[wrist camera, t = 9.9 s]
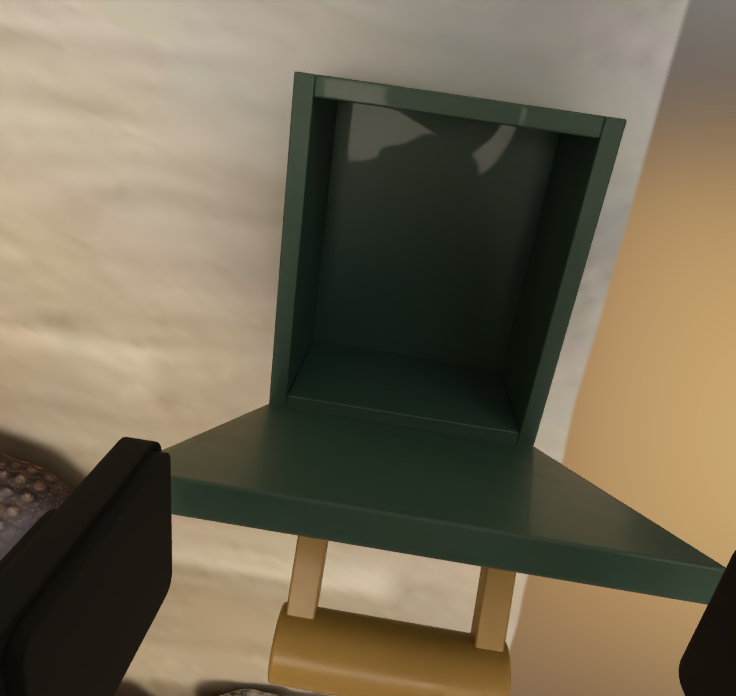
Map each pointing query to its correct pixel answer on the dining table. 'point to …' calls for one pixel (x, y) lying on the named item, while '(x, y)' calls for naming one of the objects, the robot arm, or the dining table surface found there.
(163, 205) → the dining table surface
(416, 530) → the lid
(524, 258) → the chest
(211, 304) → the dining table surface
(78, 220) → the dining table surface
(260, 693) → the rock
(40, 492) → the sea urchin shell
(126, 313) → the dining table surface
